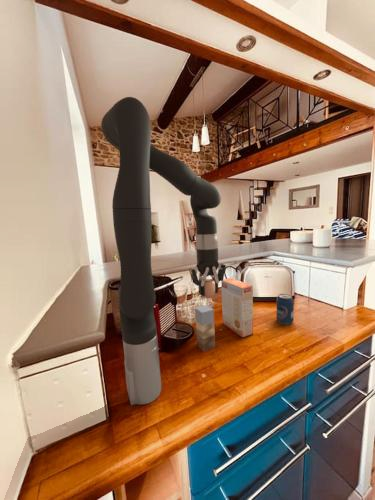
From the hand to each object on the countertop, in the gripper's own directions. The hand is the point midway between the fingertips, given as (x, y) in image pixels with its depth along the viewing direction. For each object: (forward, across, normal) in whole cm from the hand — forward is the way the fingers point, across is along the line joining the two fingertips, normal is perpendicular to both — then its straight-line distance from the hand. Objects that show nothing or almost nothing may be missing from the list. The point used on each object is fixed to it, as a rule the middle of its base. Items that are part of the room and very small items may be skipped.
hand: (208, 294), depth 76 cm
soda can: (+21, +39, +1) cm, 45 cm away
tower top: (+11, -1, +2) cm, 11 cm away
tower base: (+21, -1, +2) cm, 21 cm away
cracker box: (+21, +17, +7) cm, 28 cm away
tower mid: (+16, -1, +2) cm, 16 cm away
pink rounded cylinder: (+1, 0, 0) cm, 1 cm away
